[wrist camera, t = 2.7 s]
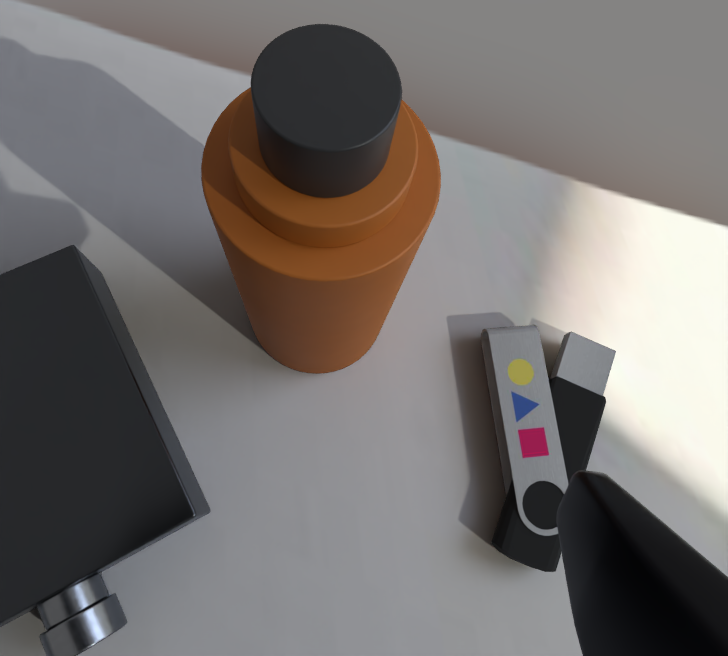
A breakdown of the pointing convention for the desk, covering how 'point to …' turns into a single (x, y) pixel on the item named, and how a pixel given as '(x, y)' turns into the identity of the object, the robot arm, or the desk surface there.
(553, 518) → the usb flash drive
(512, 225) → the desk surface
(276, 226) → the amber bottle
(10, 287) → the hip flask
